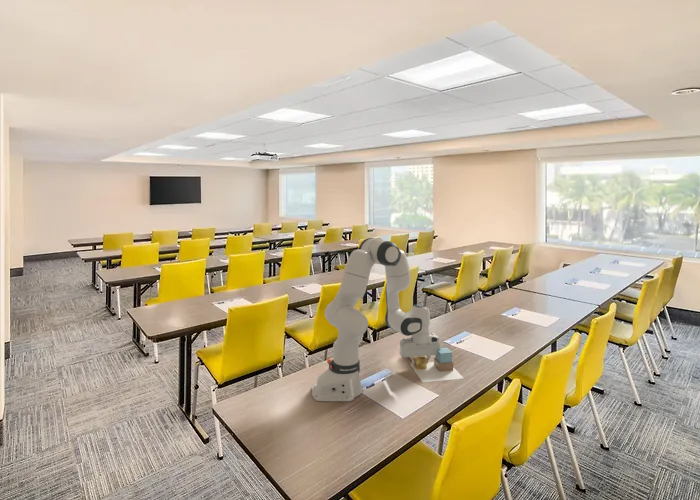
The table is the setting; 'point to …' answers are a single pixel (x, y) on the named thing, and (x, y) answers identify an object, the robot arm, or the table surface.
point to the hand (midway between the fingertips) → (420, 363)
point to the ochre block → (420, 362)
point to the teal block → (444, 355)
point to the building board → (437, 372)
